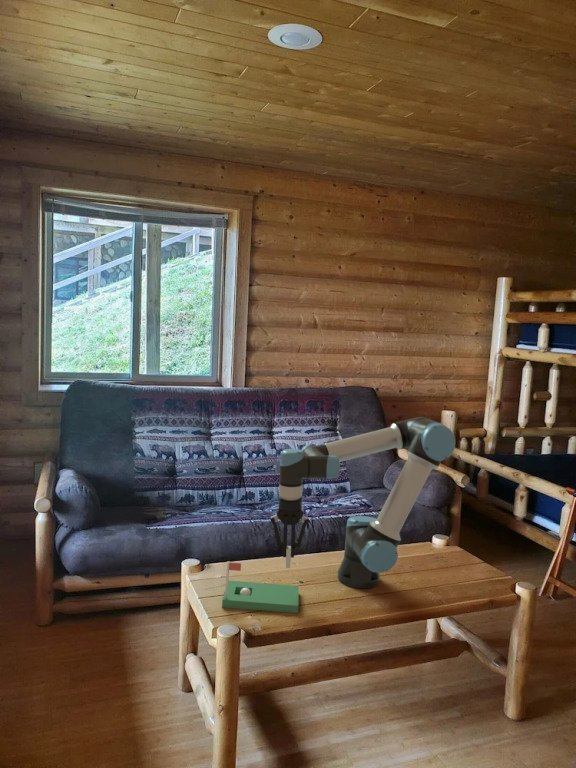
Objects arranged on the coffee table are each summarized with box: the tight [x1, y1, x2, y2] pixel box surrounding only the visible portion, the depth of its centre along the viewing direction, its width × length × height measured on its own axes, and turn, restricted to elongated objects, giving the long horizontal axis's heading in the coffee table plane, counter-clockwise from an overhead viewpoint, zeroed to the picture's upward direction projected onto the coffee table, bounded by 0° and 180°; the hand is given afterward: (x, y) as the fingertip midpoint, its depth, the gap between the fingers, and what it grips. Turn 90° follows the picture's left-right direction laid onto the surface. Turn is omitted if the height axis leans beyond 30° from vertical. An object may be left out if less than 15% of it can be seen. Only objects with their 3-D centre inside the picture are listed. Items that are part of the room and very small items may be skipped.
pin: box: [224, 561, 242, 599], centre depth 186 cm, size 4×1×12 cm, turn 89°
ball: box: [239, 588, 251, 596], centre depth 192 cm, size 4×4×4 cm
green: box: [221, 580, 300, 614], centre depth 192 cm, size 24×14×2 cm, turn 89°
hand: (288, 566), depth 194 cm, fingers closed
